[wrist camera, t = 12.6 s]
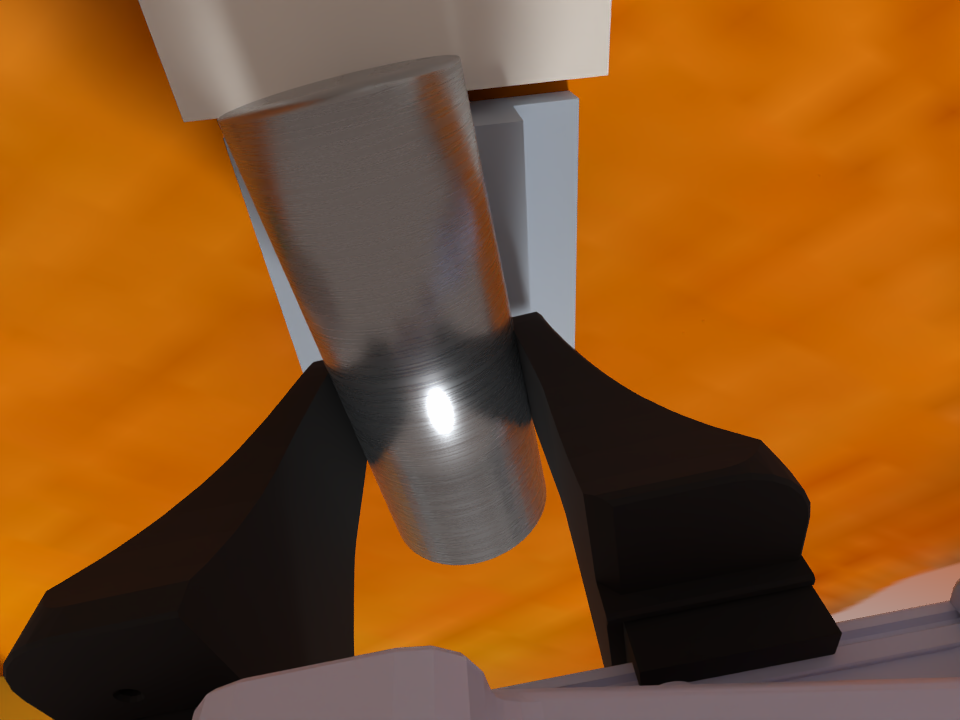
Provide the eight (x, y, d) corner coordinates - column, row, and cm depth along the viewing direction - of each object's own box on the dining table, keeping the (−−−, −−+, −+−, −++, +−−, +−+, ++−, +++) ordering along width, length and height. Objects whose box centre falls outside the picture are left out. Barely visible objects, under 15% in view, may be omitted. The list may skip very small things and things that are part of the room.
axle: (225, 105, 10) (205, 138, 7) (427, 51, 11) (494, 59, 8) (384, 476, 16) (414, 591, 13) (513, 426, 16) (573, 524, 13)
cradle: (569, 90, 13) (596, 112, 11) (566, 334, 17) (586, 382, 15) (235, 127, 13) (201, 156, 11) (312, 365, 17) (298, 418, 15)
